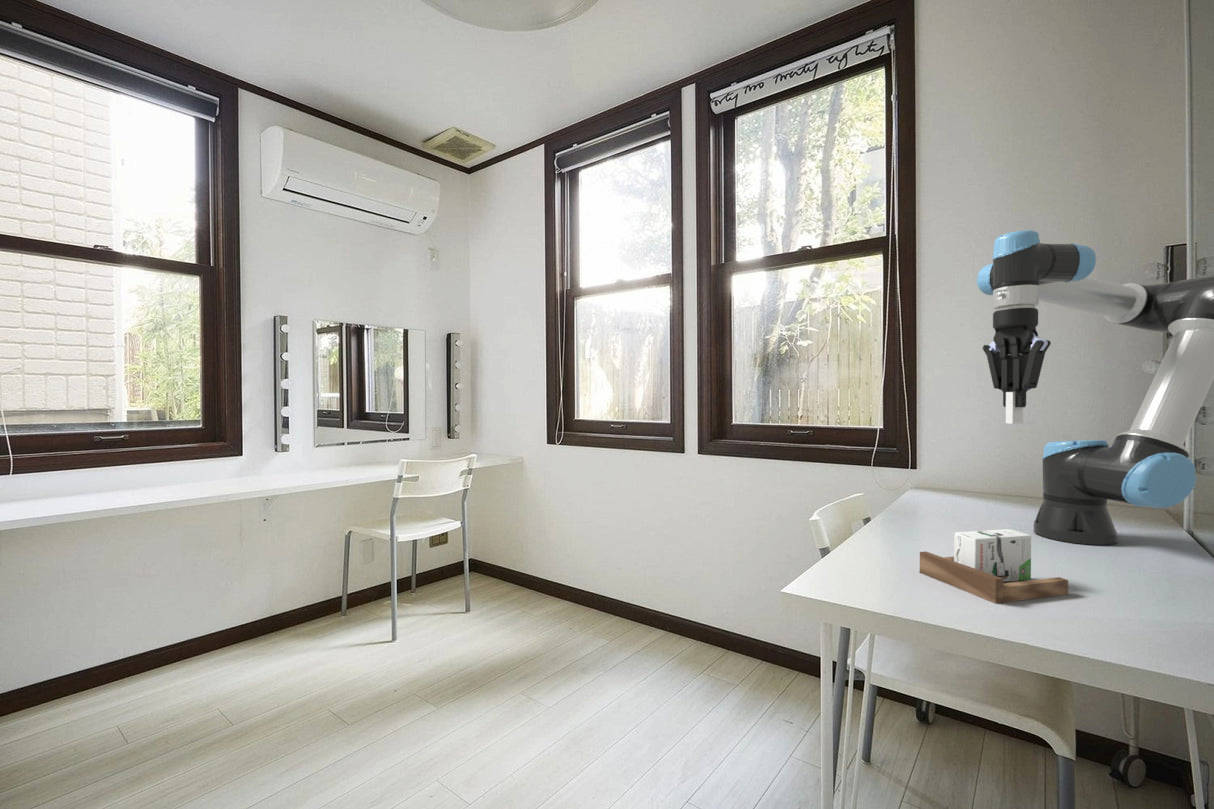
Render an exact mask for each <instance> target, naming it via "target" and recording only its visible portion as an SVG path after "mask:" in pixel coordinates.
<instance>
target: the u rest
mask: <svg viewBox="0 0 1214 809" xmlns="http://www.w3.org/2000/svg"><path fill="white" fill-rule="evenodd" d="M919 573H920V574H922V575H925V576H927V577H929V578H933V579H935V580H937V581H939V582H942V583H945V584H948V585H950V586H951V587H954V588H957V589H959V590H961V591H964V592H967V593H970V594H972V595H974V596H977V597H979V598H981V599H985V600H987V601H989V602H991V603H994V604H1001V603H1008V602H1009V603H1010V602H1016V601H1017V602H1018V601H1025V600H1026V601H1027V600H1034V599H1035V600H1036V599H1040V598H1041V599H1042V598H1051V597H1059V596H1066V595H1069V580H1068V579H1066V578H1064V577H1059V576H1058V577H1050V578H1041V579H1032V580H1023V581H1010V582H1003V578H1000V577H997V576H994V575H991V574H989V573H986V572H983V571H980V570H977V569H974V568H972V567H969V566H966V565H963V564H960V563H957V562H955V561H954V555H953V556H945V557H943V556H940V555H937V554H935V553H932V552H929V551H919Z"/></svg>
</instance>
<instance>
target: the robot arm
mask: <svg viewBox="0 0 1214 809" xmlns="http://www.w3.org/2000/svg"><path fill="white" fill-rule="evenodd" d="M1040 241H1041V239H1040V235H1039V232H1038V231H1036V230H1031V229H1029V230H1027V229H1025V230H1024V229H1023V230H1017V231H1012V232H1007V233H1004V234H1001V235H999V236H998V237H996V239H995V240H994V242H993V252H992V263H988V264H986V265H984V266H983V267H982V268H981V269H980V270H979V271H978V274H977V278H976V284H977V287H978V289H979V291H980V292H982V294H984V295H986V296H992V298H993V299H992V308H993V309H994V310H996V311H994V312H993V313H992V328H993V329H994V330H995V334H994V336H993V341H991V342H990V343H989V344H984V345H983V346H982V350H983V352H984V353H985V355H986V358H987V363H988V367H989V372H990V377H991V380H992V385H993V388H994V389H997V390H1001V391H1002V406H1003V407H1004V408H1005V424H1010V425H1011V424H1017V425H1018V424H1023V423H1024V408H1026V406H1027V392H1028V391H1030V390H1032V389H1036V388H1037V386H1038V383H1039V380H1040V375H1041V371H1042V367H1043V364H1044V359H1045V357H1046V356H1045V355H1046V352H1047V350H1048V349H1049V347H1050V346H1051V344H1052V342H1051V341H1050V340H1049V339H1046V340H1045V339H1042V337H1039V333H1038V332H1037V326H1039V309H1038V308H1036V307H1037V306H1038V305H1040V304H1039V302H1043V303H1048V304H1051V305H1052V304H1053V305H1056V306H1059V307H1060V306H1061V307H1065V308H1069V309H1073V310H1077V311H1082V312H1087V313H1091V314H1094V315H1099V316H1104V318H1105V319H1106V320H1107V321H1108V322H1110V323H1113V324H1118V325H1121V326H1125V327H1131V328H1135V329H1138V330H1145V331H1150V332H1151V331H1153V332H1161V333H1170V334H1171V335H1172V336H1173V337H1172V339H1171V341H1170V343H1169V346H1168V348H1167V350H1166V352H1165V354H1164V357H1163V358H1162V361H1161V362H1160V364H1159V366H1158V369H1157V371H1156V373H1155V375H1154V377H1153V379H1152V382H1151V383H1150V386H1149V387H1148V388H1149V389H1148V390H1147V392H1146V395H1145V396H1144V398H1143V401H1142V403H1141V404H1140V408H1139V409H1138V411H1137V413H1136V415H1135V418H1134V419H1133V420H1134V421H1133V422H1132V424H1131V426H1130V428H1129V430H1127V431H1123V432H1121V433H1118V434H1117V435H1116V437H1115V439H1114V441H1113V443H1112V445H1111V447H1110V445H1109V444H1108V443H1109V442H1108V441H1107V440H1104V439H1092V440H1091V439H1090V440H1089V439H1088V440H1085V439H1084V440H1060V441H1050V442H1047V443H1046V444H1045V445H1044V447H1043V456H1042V496H1043V497H1042V503H1041V505H1040V508H1039V510H1038V513H1037V515H1036V517H1035V519H1034V521H1033V533H1035V534H1036V535H1038V536H1041V537H1044V538H1047V539H1051V540H1055V541H1060V542H1065V543H1073V544H1083V545H1093V546H1095V545H1097V546H1100V545H1101V546H1103V545H1106V546H1107V545H1114V544H1117V541H1118V532H1117V530H1116V528H1115V525H1114V522H1113V519H1112V517H1111V514H1110V512H1109V509H1108V500H1109V501H1115V502H1120V503H1124V504H1129V505H1133V506H1136V507H1143V508H1146V507H1147V508H1148V507H1149V508H1154V509H1166V508H1170V507H1172V506H1176V505H1178V504H1180V503H1182V502H1183V501H1184V500H1186V499H1187V498H1188V496H1189V495H1190V494H1191V492H1192V491H1193V490H1194V488H1195V486H1196V482H1197V475H1195V474H1194V473H1196V472H1197V470H1196V467H1195V464H1194V463H1193V461H1192V460H1191V459H1190V458H1189V457H1190V451H1189V450H1188V448H1187V447H1185V442H1186V440H1187V438H1188V435H1189V433H1190V431H1191V430H1192V429H1191V428H1192V426H1193V425H1194V423H1195V420H1196V418H1197V416H1198V414H1199V412H1200V410H1201V407H1202V406H1203V403H1204V401H1205V400H1206V399H1205V398H1206V397H1207V394H1208V392H1209V390H1210V388H1211V386H1212V384H1213V383H1214V382H1213V381H1214V274H1213V275H1207V276H1206V275H1205V276H1201V277H1194V278H1188V279H1182V280H1175V281H1171V282H1162V283H1158V284H1157V283H1156V284H1138V283H1133V282H1128V283H1123V284H1119V283H1115V282H1111V281H1106V280H1102V279H1098V278H1094V277H1090V276H1089V275H1091V274H1092V273H1093V271H1094V269H1095V267H1096V263H1097V261H1096V260H1097V259H1096V258H1097V256H1096V253H1095V251H1094V249H1093V248H1092V247H1090V246H1089V245H1086V244H1085V245H1084V244H1076V243H1072V242H1071V243H1043V242H1040Z"/></svg>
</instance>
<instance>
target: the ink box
mask: <svg viewBox="0 0 1214 809" xmlns="http://www.w3.org/2000/svg"><path fill="white" fill-rule="evenodd" d="M953 556H954V561H955V562H957V563H960V564H963V565H966V566H969V567H972V568H974V569H977V570H980V571H983V572H986V573H989V574H991V575H994V576H997V577H1000V578H1003V582H1010V581H1023V580H1025V581H1030V580H1031V578H1032V535H1031V534H1028V533H1025V532H1022V531H1020V530H1019V531H1018V530H1016V529H1011V528H1006V529H990V530H989V529H988V530H987V529H986V530H971V531H957V532H955V533H954V536H953Z"/></svg>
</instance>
